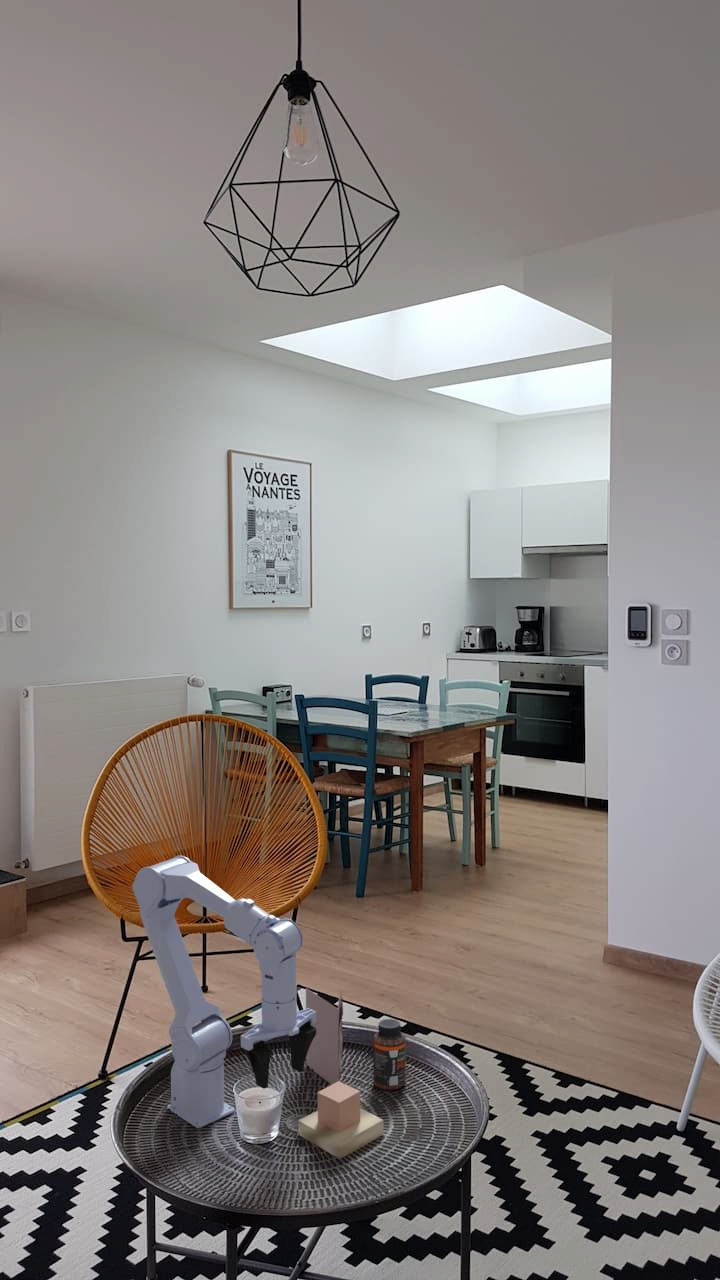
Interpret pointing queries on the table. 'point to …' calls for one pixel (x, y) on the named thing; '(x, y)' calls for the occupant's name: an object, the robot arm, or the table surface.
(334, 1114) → the terracotta cube
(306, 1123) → the birch block
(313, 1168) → the table surface
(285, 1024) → the robot arm
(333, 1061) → the greeting card
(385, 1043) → the supplement bottle
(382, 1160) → the table surface
